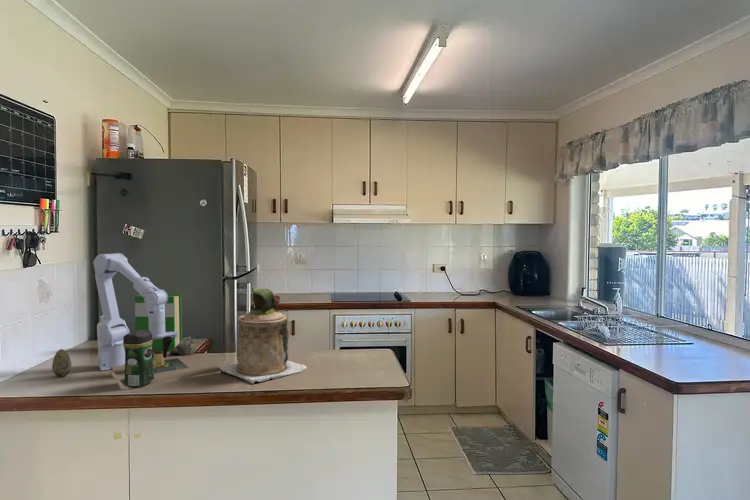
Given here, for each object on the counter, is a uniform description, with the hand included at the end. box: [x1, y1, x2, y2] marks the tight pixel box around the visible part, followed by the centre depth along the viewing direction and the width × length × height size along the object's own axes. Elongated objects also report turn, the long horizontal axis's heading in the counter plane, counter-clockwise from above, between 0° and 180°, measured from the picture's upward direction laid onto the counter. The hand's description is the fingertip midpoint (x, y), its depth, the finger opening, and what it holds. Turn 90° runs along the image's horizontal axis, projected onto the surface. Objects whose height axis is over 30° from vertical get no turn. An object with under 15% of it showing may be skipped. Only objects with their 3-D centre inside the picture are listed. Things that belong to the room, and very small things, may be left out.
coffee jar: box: [123, 330, 155, 388], centre depth 178 cm, size 10×8×19 cm
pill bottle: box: [96, 315, 116, 348], centre depth 228 cm, size 8×8×15 cm
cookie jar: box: [218, 286, 308, 385], centre depth 193 cm, size 25×25×32 cm
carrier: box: [153, 357, 190, 374], centre depth 198 cm, size 15×17×4 cm
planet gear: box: [152, 351, 169, 368], centre depth 194 cm, size 7×7×6 cm
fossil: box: [169, 336, 196, 357], centre depth 218 cm, size 11×9×10 cm
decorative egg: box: [51, 348, 72, 378], centre depth 187 cm, size 6×6×10 cm
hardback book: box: [134, 293, 183, 352], centre depth 229 cm, size 18×7×24 cm, turn 84°
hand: (157, 358), depth 194 cm, fingers closed on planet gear, 4 cm apart
